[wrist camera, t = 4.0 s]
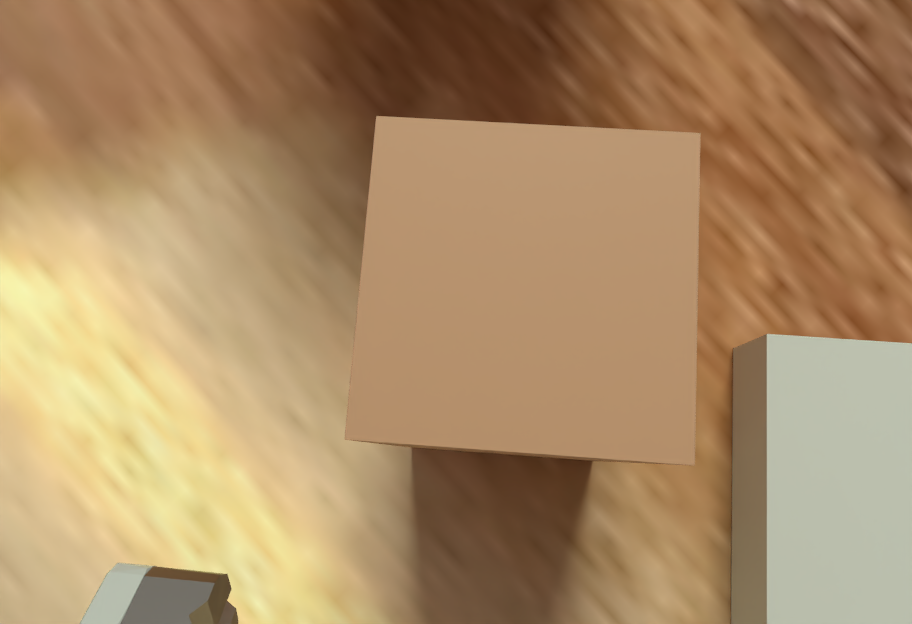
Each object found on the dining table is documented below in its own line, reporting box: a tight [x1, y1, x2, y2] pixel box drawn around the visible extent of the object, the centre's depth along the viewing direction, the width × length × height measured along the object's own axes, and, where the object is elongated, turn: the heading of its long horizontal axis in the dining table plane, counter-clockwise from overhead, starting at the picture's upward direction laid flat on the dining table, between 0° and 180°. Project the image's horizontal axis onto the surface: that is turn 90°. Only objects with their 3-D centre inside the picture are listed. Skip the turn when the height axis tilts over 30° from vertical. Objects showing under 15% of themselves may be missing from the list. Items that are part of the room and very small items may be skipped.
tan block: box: [345, 116, 700, 465], centre depth 16 cm, size 5×5×10 cm
